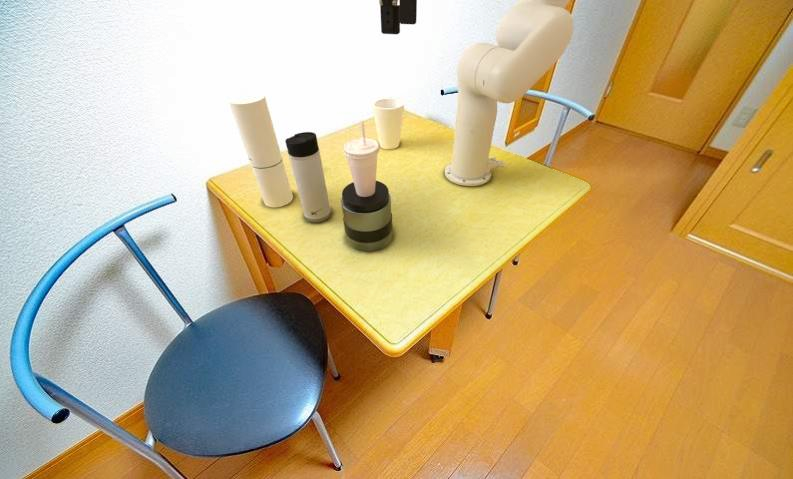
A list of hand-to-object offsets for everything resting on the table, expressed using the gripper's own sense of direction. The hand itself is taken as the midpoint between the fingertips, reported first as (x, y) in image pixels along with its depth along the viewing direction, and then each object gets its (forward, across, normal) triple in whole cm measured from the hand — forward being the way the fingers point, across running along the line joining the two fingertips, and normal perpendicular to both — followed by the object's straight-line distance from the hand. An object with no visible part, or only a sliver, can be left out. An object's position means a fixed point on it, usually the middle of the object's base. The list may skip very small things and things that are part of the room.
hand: (399, 28), depth 59 cm
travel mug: (+36, -14, +16) cm, 42 cm away
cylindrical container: (+36, -11, +29) cm, 48 cm away
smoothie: (+25, -17, +2) cm, 30 cm away
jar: (+36, -17, +2) cm, 40 cm away
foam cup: (+36, +26, +13) cm, 47 cm away
